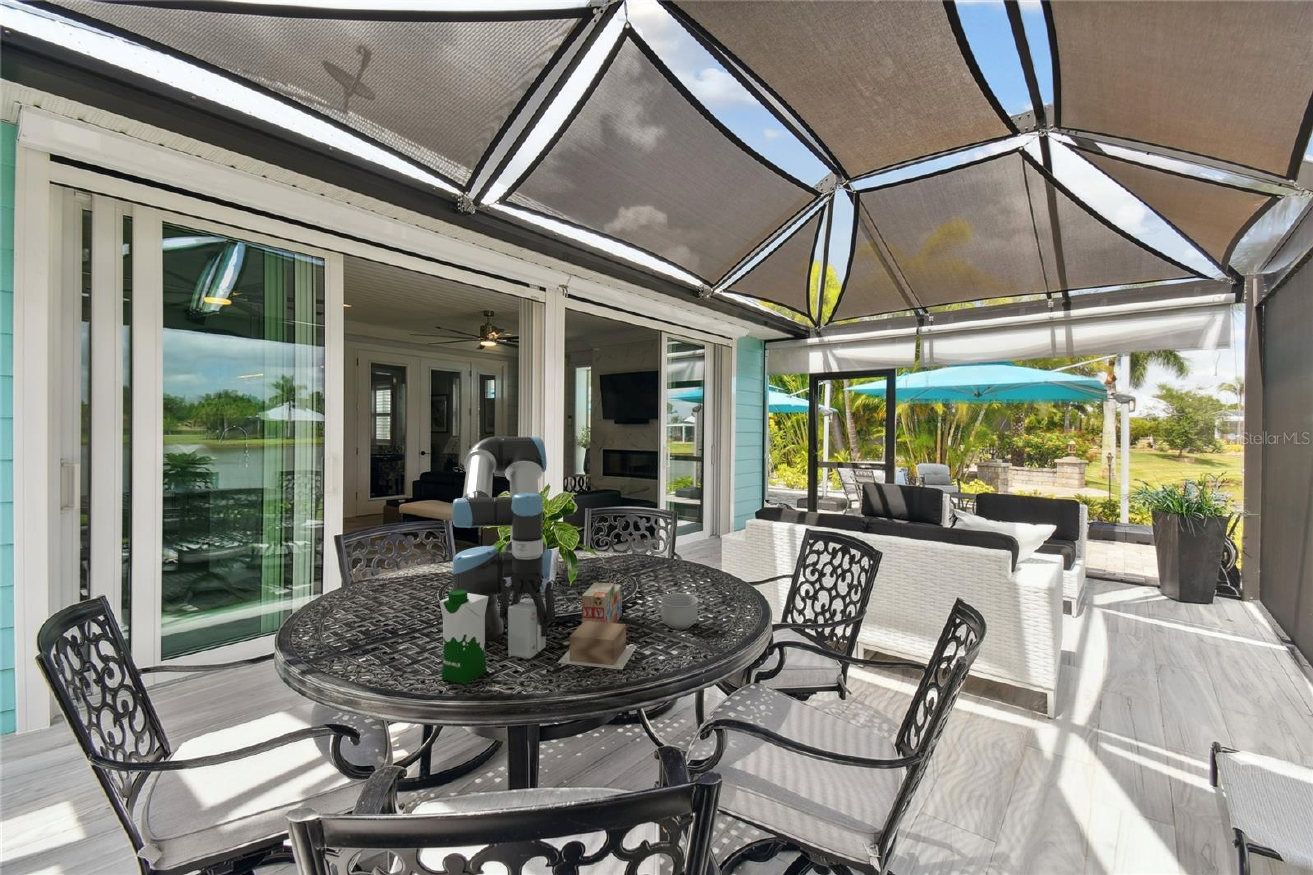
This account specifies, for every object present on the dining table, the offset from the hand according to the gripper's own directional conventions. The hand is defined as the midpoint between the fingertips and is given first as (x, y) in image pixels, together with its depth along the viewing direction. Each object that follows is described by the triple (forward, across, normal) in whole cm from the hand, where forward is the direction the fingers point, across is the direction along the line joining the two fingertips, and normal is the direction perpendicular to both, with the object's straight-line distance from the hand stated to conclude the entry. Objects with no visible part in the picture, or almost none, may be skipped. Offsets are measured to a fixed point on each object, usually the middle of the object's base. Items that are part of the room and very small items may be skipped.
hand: (527, 647), depth 146 cm
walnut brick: (+1, +18, +2) cm, 18 cm away
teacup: (+2, +32, +30) cm, 44 cm away
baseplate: (+2, +18, +2) cm, 18 cm away
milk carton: (+2, -9, -14) cm, 17 cm away
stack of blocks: (+2, +12, +24) cm, 27 cm away
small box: (+2, 0, 0) cm, 2 cm away
